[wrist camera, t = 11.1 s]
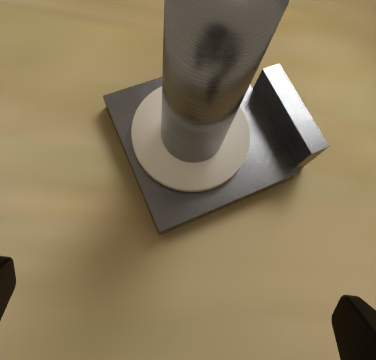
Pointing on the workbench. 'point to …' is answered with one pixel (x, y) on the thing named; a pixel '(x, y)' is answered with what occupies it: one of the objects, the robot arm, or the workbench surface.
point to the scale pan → (179, 170)
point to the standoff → (210, 68)
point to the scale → (256, 157)
